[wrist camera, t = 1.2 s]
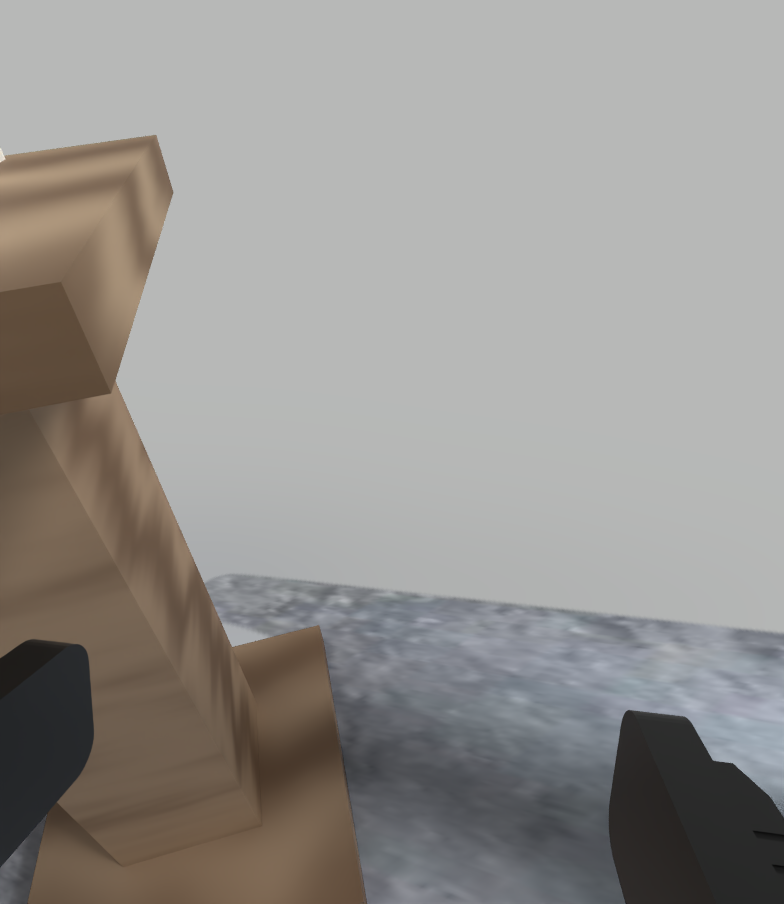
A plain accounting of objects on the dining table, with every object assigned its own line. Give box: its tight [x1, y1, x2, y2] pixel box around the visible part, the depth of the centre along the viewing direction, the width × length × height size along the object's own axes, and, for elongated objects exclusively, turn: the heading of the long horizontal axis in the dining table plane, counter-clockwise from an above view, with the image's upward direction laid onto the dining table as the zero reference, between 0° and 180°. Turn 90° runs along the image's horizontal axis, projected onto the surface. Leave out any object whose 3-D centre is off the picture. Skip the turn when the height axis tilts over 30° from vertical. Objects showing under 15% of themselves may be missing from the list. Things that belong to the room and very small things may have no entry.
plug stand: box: [0, 135, 367, 904], centre depth 24 cm, size 16×16×32 cm
